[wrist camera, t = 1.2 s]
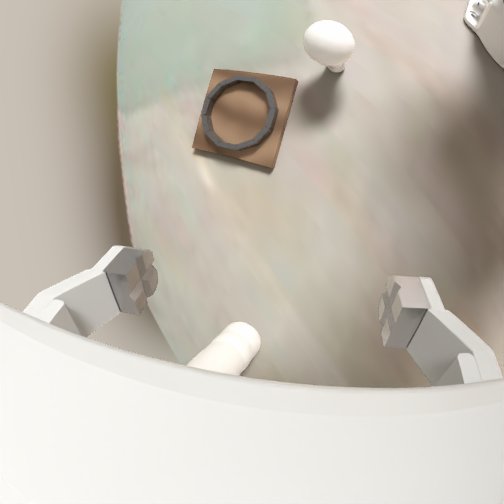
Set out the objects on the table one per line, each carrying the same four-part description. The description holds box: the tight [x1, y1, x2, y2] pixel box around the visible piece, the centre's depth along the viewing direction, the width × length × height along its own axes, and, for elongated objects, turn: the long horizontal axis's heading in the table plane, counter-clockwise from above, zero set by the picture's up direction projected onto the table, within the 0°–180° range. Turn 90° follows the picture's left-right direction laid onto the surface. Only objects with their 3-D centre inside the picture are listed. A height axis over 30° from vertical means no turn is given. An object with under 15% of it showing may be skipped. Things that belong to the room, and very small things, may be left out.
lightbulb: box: [303, 20, 355, 72], centre depth 29 cm, size 6×6×11 cm
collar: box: [201, 75, 279, 151], centre depth 39 cm, size 12×12×2 cm
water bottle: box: [186, 322, 261, 376], centre depth 39 cm, size 7×7×25 cm
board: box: [192, 69, 298, 168], centre depth 41 cm, size 14×14×1 cm
